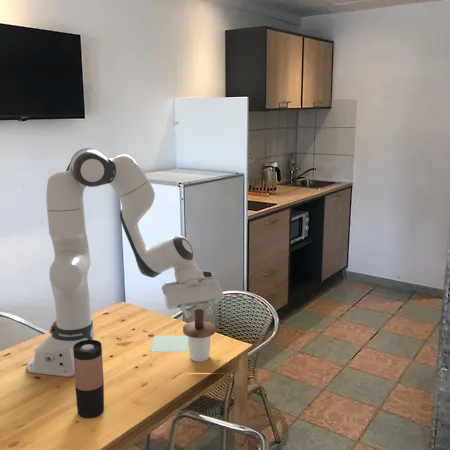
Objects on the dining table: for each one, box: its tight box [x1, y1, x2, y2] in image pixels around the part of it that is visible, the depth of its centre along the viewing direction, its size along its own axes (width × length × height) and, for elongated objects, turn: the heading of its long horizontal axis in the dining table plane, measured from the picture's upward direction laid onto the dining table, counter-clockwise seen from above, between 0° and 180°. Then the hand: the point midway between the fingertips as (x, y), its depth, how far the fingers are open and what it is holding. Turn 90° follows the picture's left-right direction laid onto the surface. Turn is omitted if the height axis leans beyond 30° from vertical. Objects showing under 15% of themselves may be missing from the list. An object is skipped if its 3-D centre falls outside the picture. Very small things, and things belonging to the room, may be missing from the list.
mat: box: [149, 335, 189, 353], centre depth 181 cm, size 13×13×1 cm
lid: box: [182, 308, 216, 338], centre depth 169 cm, size 11×11×7 cm
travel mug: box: [73, 339, 105, 420], centre depth 138 cm, size 8×8×20 cm
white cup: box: [188, 335, 212, 362], centre depth 171 cm, size 8×8×10 cm
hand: (199, 316), depth 168 cm, fingers open, 6 cm apart
